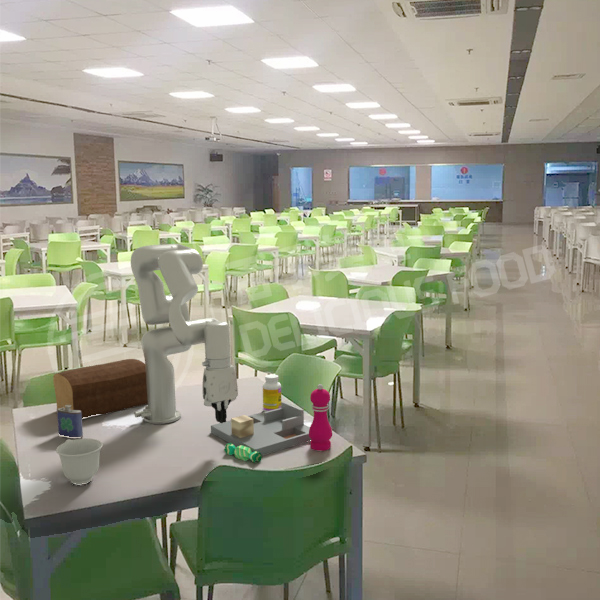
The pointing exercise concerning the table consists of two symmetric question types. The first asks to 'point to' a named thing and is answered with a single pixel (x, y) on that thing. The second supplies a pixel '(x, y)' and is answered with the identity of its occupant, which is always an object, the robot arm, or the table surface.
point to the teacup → (80, 459)
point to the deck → (269, 430)
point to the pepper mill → (320, 420)
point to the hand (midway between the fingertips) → (221, 421)
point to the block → (242, 426)
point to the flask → (69, 422)
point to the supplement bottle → (271, 393)
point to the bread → (102, 387)
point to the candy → (242, 452)
